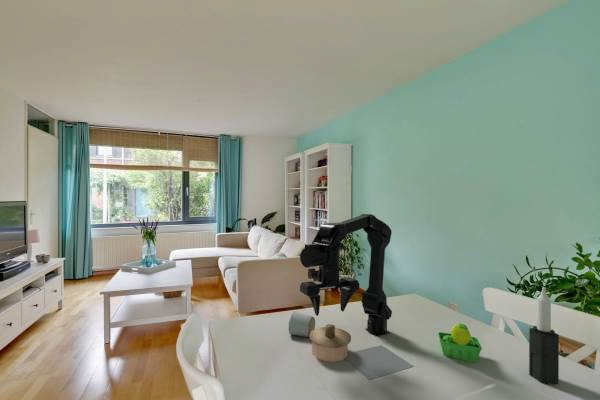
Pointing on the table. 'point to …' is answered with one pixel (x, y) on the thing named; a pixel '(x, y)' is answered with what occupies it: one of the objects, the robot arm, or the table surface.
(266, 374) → the table surface
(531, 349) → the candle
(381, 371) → the mat
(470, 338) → the fruit basket
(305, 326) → the ceramic mug
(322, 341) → the lid
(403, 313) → the table surface
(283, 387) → the table surface
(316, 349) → the bowl
